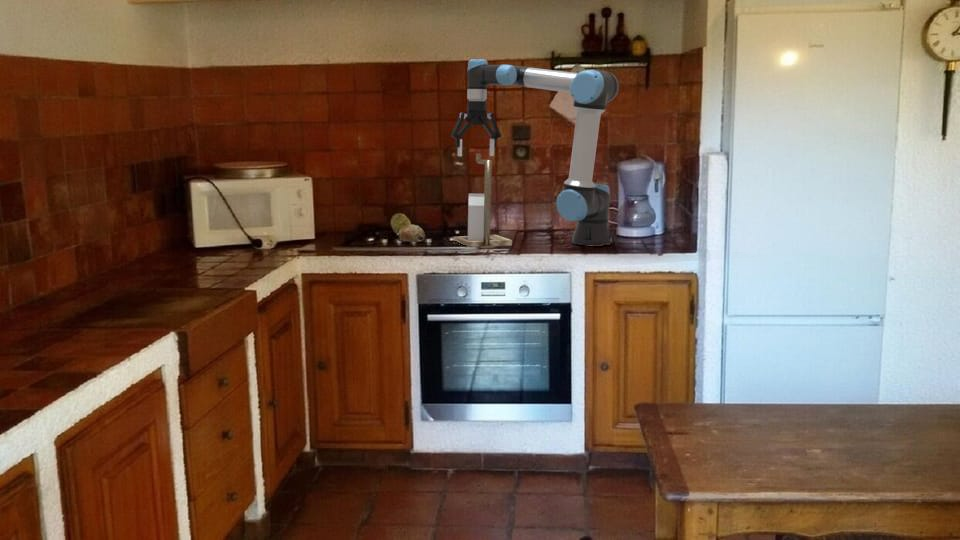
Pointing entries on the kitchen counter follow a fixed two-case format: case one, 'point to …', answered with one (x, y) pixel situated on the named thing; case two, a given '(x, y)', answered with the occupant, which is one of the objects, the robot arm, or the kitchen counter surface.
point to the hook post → (486, 201)
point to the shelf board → (494, 240)
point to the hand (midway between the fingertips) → (475, 156)
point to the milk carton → (476, 217)
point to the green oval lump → (399, 222)
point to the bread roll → (411, 234)
